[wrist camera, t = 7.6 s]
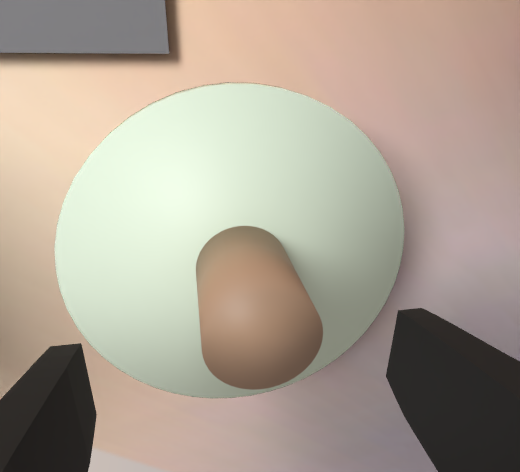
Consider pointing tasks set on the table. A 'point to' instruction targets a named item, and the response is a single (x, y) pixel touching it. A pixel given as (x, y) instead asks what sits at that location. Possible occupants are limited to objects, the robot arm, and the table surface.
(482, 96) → the table surface
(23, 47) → the mat
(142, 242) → the lid
